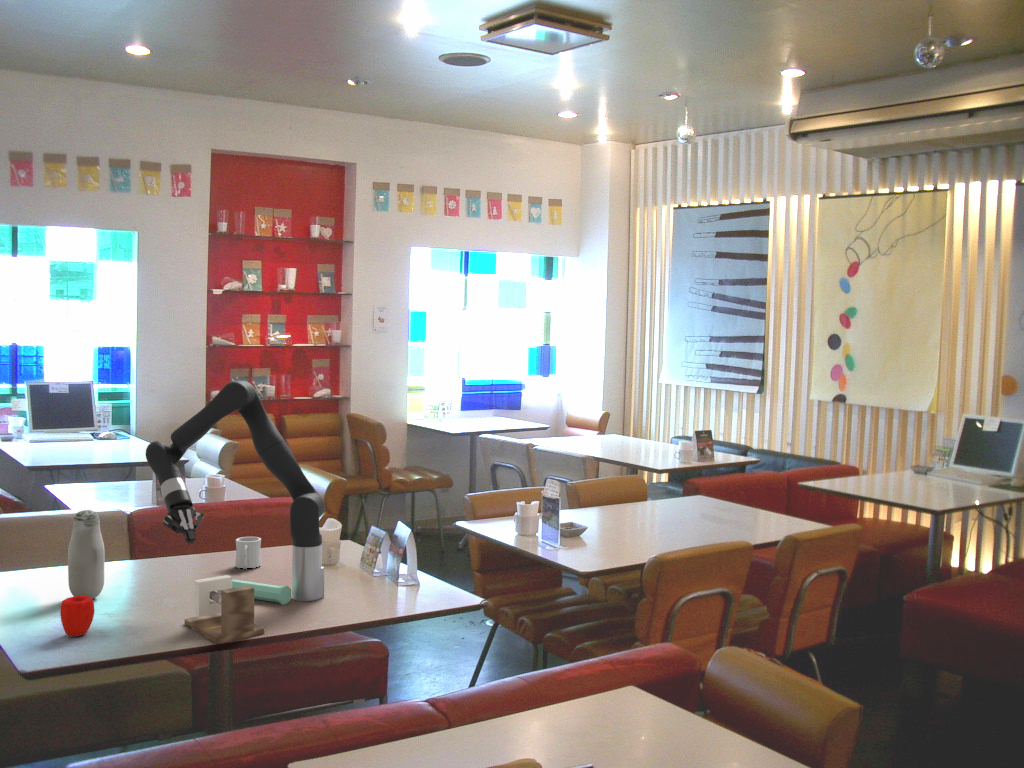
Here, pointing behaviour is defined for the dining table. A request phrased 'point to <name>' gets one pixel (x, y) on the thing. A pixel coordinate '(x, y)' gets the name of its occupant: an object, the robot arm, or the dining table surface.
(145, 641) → the dining table surface
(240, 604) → the rod rig
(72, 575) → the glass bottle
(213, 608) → the white square block
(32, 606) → the dining table surface
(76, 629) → the apple
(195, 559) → the dining table surface
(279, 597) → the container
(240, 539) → the mug
